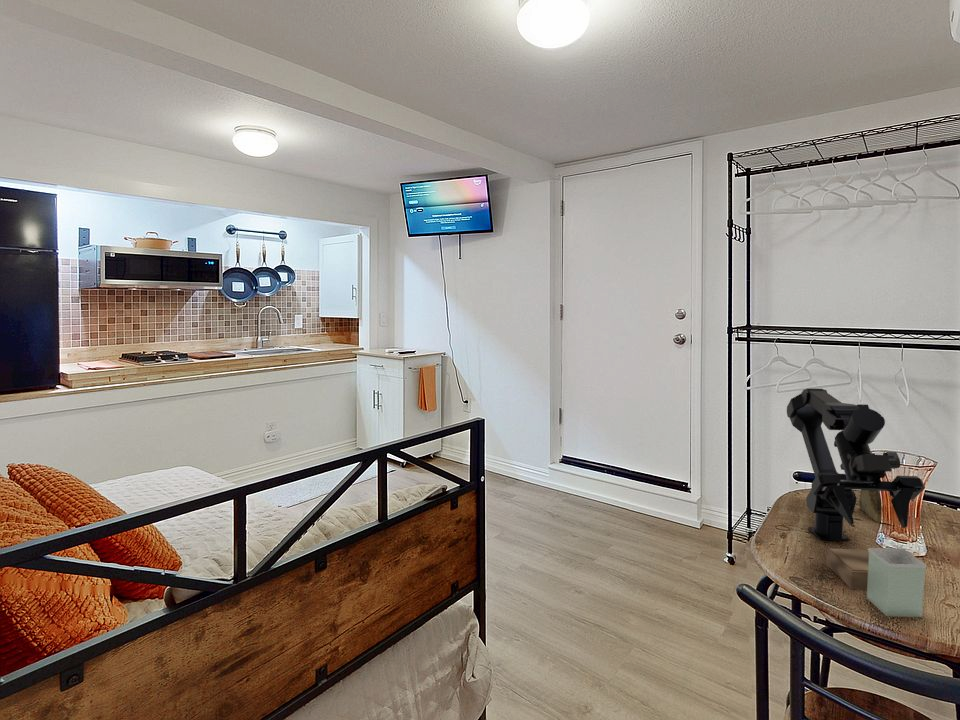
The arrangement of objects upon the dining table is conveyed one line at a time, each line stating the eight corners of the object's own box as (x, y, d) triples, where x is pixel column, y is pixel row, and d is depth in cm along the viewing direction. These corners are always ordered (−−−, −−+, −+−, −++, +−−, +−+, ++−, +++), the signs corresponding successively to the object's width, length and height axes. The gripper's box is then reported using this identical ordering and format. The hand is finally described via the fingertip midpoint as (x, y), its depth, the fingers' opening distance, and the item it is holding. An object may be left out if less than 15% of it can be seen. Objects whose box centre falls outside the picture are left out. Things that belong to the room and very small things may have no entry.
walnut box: (826, 566, 117) (826, 547, 116) (875, 567, 115) (876, 549, 115) (851, 590, 107) (852, 570, 106) (905, 592, 106) (907, 572, 105)
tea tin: (865, 597, 104) (868, 547, 103) (900, 598, 103) (903, 548, 102) (886, 616, 98) (889, 563, 96) (923, 617, 97) (926, 564, 96)
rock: (847, 496, 148) (844, 503, 140) (872, 475, 145) (870, 481, 137) (885, 527, 143) (884, 536, 135) (911, 506, 140) (912, 514, 132)
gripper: (818, 435, 111) (838, 506, 102) (922, 437, 107) (953, 512, 98) (803, 460, 120) (820, 528, 110) (899, 464, 115) (926, 534, 106)
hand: (878, 525), depth 106 cm, fingers open, 9 cm apart
